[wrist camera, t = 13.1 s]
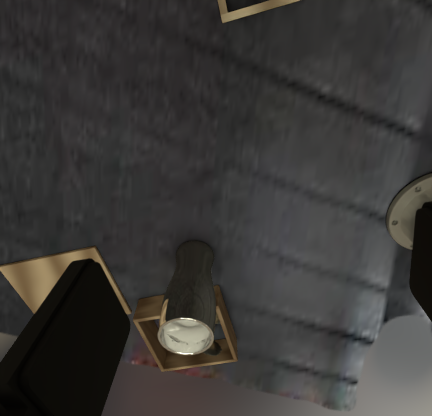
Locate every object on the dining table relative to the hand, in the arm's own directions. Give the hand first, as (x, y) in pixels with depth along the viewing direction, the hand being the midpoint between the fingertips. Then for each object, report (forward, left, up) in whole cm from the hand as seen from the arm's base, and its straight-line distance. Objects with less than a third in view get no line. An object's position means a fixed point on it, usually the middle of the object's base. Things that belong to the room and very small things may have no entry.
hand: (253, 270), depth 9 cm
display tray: (+16, +37, -31) cm, 51 cm away
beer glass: (+11, +23, -32) cm, 40 cm away
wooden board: (+34, +25, -31) cm, 52 cm away
